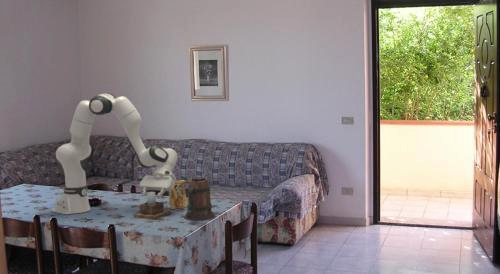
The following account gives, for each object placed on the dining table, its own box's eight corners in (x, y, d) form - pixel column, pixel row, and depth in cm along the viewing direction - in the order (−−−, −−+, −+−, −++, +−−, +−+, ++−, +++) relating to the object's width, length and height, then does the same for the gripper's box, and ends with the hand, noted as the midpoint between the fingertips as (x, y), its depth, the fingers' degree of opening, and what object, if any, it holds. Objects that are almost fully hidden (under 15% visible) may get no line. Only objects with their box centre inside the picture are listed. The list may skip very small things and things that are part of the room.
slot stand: (133, 217, 295) (133, 205, 295) (149, 211, 308) (149, 199, 307) (155, 219, 289) (154, 207, 288) (170, 213, 301) (170, 201, 301)
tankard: (190, 212, 303) (189, 176, 301) (220, 213, 298) (218, 177, 296) (173, 223, 280) (171, 184, 278) (204, 225, 276) (203, 185, 274)
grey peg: (146, 213, 297) (145, 193, 296) (151, 211, 301) (150, 191, 300) (152, 213, 295) (151, 193, 294) (157, 211, 299) (156, 191, 298)
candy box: (183, 206, 319) (182, 179, 317) (186, 207, 315) (185, 180, 314) (169, 208, 314) (168, 181, 313) (172, 209, 311) (171, 182, 309)
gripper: (143, 170, 307) (133, 191, 300) (174, 172, 298) (164, 194, 290) (148, 177, 312) (138, 197, 304) (179, 179, 303) (169, 200, 295)
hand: (151, 195), depth 297 cm, fingers open, 8 cm apart
